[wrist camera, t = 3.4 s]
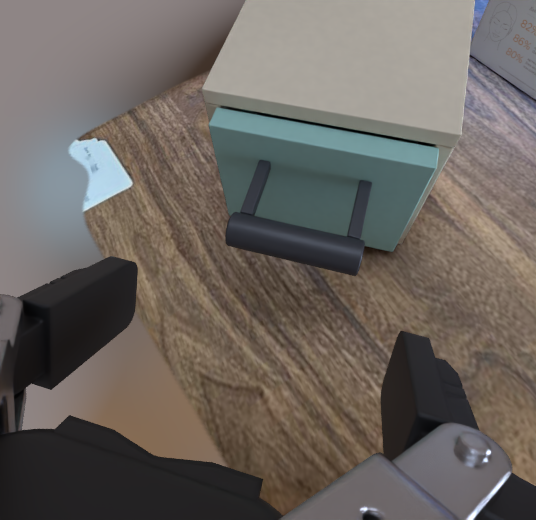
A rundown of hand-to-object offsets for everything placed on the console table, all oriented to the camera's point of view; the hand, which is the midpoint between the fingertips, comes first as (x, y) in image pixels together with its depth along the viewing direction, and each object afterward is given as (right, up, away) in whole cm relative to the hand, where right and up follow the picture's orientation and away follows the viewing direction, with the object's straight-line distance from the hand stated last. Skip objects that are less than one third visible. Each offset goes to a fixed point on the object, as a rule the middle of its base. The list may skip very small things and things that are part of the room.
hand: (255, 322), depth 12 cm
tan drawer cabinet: (+5, +11, +18) cm, 21 cm away
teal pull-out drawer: (+4, +8, +15) cm, 17 cm away
